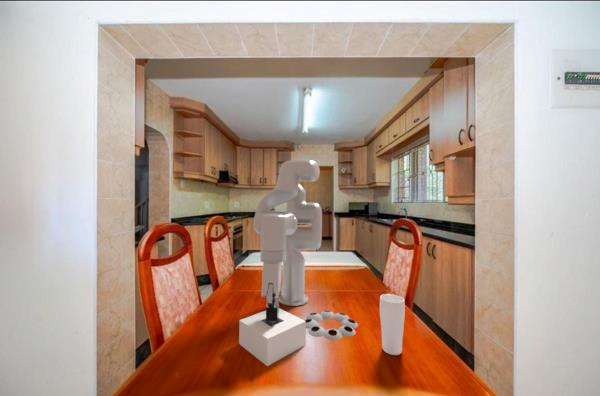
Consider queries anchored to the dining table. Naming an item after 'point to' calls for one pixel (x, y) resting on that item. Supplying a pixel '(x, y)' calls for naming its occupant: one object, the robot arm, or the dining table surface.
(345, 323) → the round palette
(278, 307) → the pin
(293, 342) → the socket block
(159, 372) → the dining table surface
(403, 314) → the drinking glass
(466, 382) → the dining table surface
